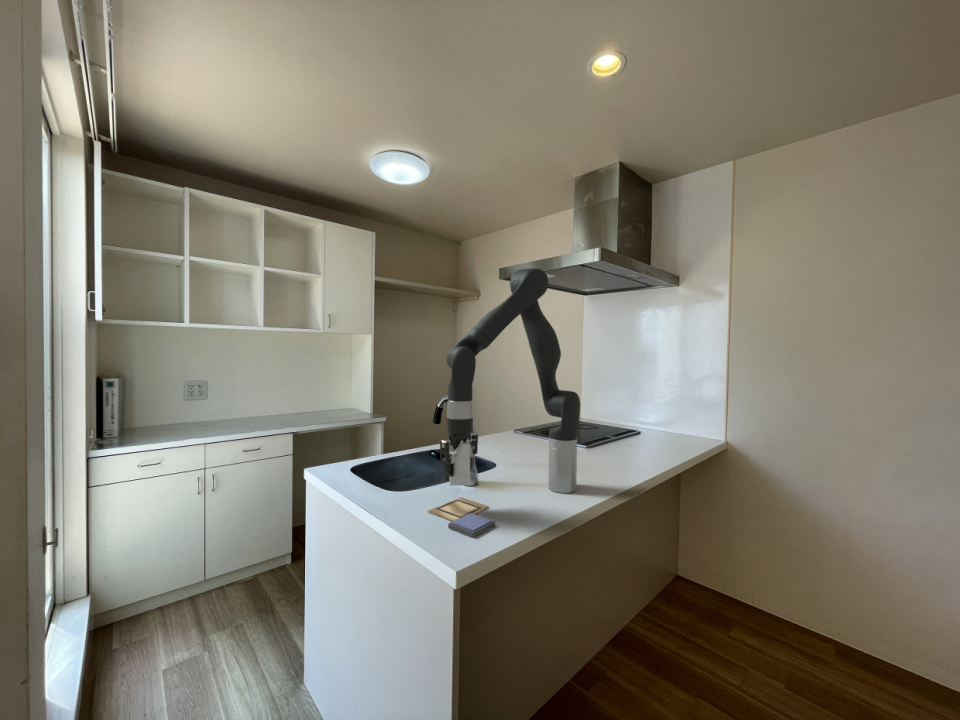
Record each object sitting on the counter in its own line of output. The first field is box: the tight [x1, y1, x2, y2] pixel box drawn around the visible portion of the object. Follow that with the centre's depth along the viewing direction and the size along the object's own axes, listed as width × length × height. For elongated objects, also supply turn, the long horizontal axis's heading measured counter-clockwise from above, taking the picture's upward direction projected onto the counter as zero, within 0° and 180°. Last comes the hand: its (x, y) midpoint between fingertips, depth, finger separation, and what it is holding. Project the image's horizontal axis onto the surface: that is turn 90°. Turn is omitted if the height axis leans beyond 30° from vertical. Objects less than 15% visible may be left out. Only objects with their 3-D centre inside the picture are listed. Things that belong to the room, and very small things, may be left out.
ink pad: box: [447, 513, 496, 539], centre depth 102 cm, size 9×8×2 cm
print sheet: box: [427, 496, 490, 522], centre depth 113 cm, size 14×11×1 cm
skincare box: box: [448, 442, 471, 487], centre depth 113 cm, size 6×4×12 cm
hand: (459, 472), depth 113 cm, fingers closed on skincare box, 7 cm apart
